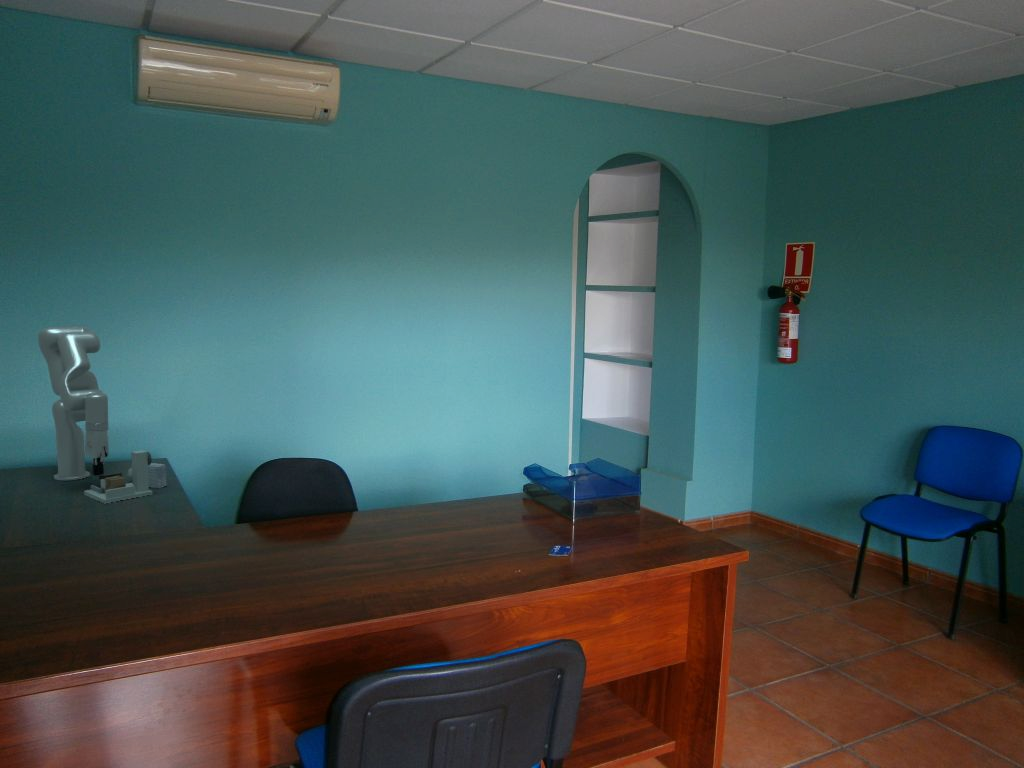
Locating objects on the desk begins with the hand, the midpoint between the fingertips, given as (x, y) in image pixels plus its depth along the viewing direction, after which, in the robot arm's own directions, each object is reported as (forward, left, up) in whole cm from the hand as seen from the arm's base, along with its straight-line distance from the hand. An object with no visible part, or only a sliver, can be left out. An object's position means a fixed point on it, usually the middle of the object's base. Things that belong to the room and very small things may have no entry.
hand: (98, 474), depth 295 cm
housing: (+15, 0, -5) cm, 16 cm away
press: (+11, +3, -6) cm, 13 cm away
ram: (+10, 0, -4) cm, 11 cm away
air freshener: (-3, +17, -6) cm, 18 cm away
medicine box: (+8, +17, -6) cm, 20 cm away
